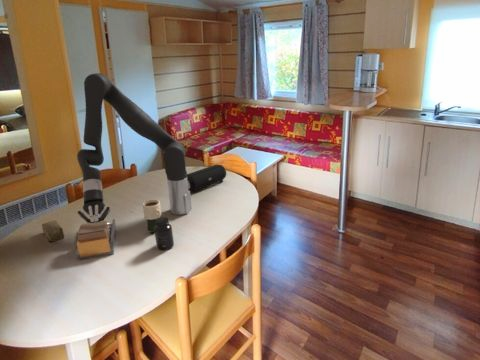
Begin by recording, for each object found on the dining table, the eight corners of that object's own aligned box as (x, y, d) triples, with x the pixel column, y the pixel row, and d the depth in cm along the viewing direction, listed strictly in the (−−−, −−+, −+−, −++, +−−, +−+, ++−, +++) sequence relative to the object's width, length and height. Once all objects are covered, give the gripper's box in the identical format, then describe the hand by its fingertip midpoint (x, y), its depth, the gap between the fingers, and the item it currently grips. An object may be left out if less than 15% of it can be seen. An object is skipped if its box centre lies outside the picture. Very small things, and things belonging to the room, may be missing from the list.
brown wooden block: (83, 238, 138) (79, 224, 135) (109, 234, 140) (106, 220, 138) (80, 249, 131) (77, 234, 128) (108, 244, 133) (105, 230, 131)
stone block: (50, 243, 142) (48, 233, 140) (43, 233, 150) (40, 223, 148) (65, 238, 145) (63, 227, 143) (57, 228, 153) (54, 218, 151)
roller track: (84, 229, 151) (81, 215, 148) (116, 224, 154) (113, 210, 152) (77, 260, 130) (73, 244, 127) (113, 254, 133) (110, 238, 130)
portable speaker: (192, 195, 182) (190, 178, 178) (181, 190, 188) (179, 173, 185) (227, 181, 198) (227, 165, 194) (216, 177, 205) (215, 161, 201)
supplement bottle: (157, 242, 140) (154, 216, 136) (174, 240, 141) (171, 214, 136) (155, 251, 134) (151, 224, 129) (173, 250, 134) (170, 223, 130)
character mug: (169, 230, 148) (165, 203, 143) (155, 237, 144) (151, 209, 139) (154, 222, 155) (151, 196, 150) (140, 228, 151) (136, 202, 146)
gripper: (73, 190, 140) (75, 231, 134) (108, 186, 143) (111, 226, 137) (78, 197, 147) (80, 236, 140) (110, 193, 150) (114, 231, 144)
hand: (95, 231), depth 139 cm, fingers closed
